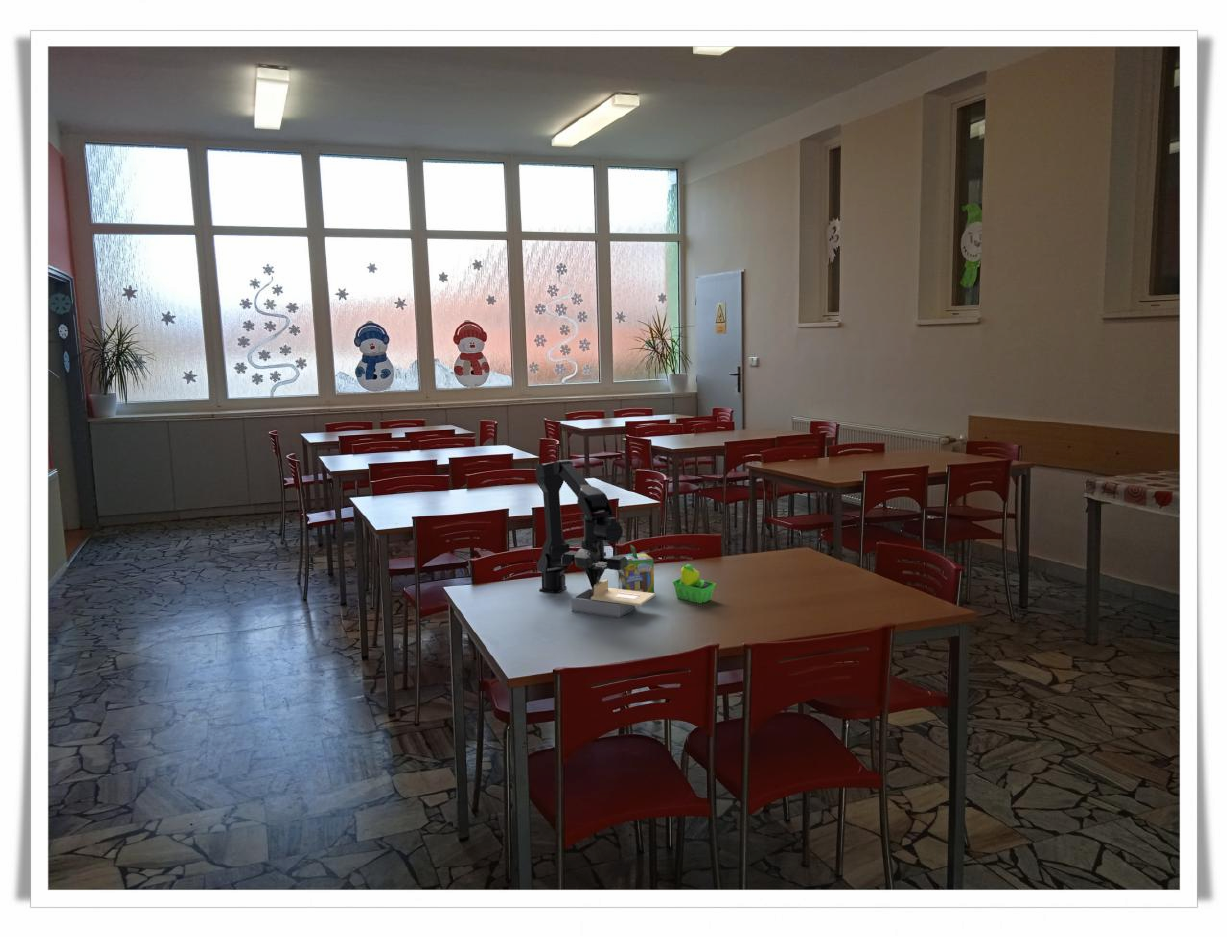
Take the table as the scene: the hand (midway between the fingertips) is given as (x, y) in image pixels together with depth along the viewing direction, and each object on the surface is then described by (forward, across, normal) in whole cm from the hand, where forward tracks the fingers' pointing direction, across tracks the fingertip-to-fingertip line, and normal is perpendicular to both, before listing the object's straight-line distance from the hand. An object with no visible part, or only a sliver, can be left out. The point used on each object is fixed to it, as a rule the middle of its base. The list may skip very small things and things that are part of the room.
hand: (594, 589), depth 244 cm
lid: (+1, +9, 0) cm, 9 cm away
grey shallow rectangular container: (+6, +3, 0) cm, 6 cm away
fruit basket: (+6, +23, +20) cm, 31 cm away
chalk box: (+6, +5, +19) cm, 21 cm away
